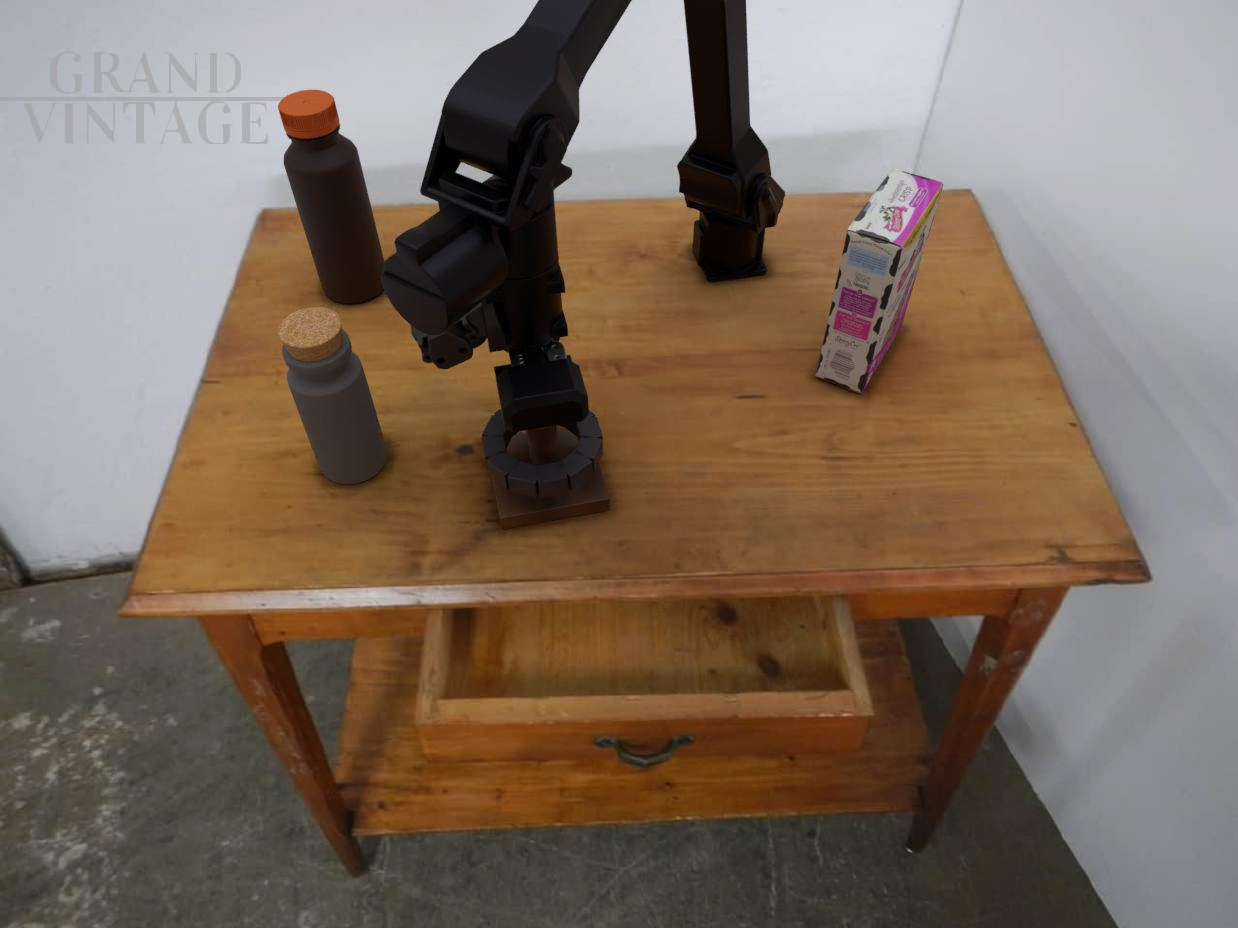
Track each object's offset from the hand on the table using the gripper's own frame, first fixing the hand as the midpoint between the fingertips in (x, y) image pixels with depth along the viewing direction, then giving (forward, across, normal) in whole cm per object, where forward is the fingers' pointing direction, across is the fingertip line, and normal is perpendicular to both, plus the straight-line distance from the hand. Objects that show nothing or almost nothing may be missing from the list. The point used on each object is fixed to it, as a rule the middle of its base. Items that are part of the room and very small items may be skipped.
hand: (535, 409), depth 79 cm
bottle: (+5, -2, -16) cm, 17 cm away
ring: (+1, +4, 0) cm, 4 cm away
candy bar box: (+5, -5, +32) cm, 33 cm away
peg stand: (+4, +4, 0) cm, 6 cm away
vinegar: (+5, -27, -15) cm, 31 cm away
